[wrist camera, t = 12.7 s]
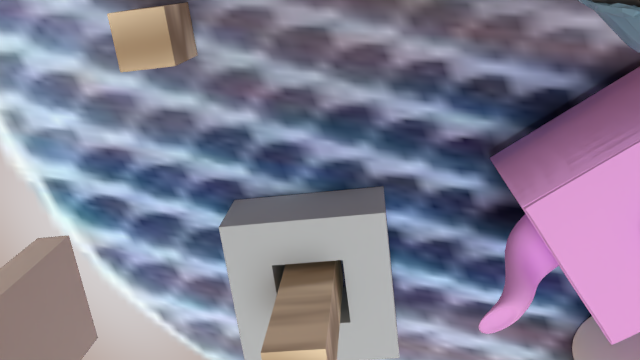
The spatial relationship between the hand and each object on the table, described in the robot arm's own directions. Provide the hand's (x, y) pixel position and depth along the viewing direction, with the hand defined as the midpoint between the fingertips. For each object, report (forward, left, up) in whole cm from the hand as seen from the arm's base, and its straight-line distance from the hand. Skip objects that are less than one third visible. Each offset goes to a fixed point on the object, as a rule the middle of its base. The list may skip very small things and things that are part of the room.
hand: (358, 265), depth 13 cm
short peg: (-4, -13, -29) cm, 32 cm away
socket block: (+14, -5, -29) cm, 32 cm away
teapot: (+9, +14, -29) cm, 33 cm away
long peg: (+14, -5, -29) cm, 32 cm away
